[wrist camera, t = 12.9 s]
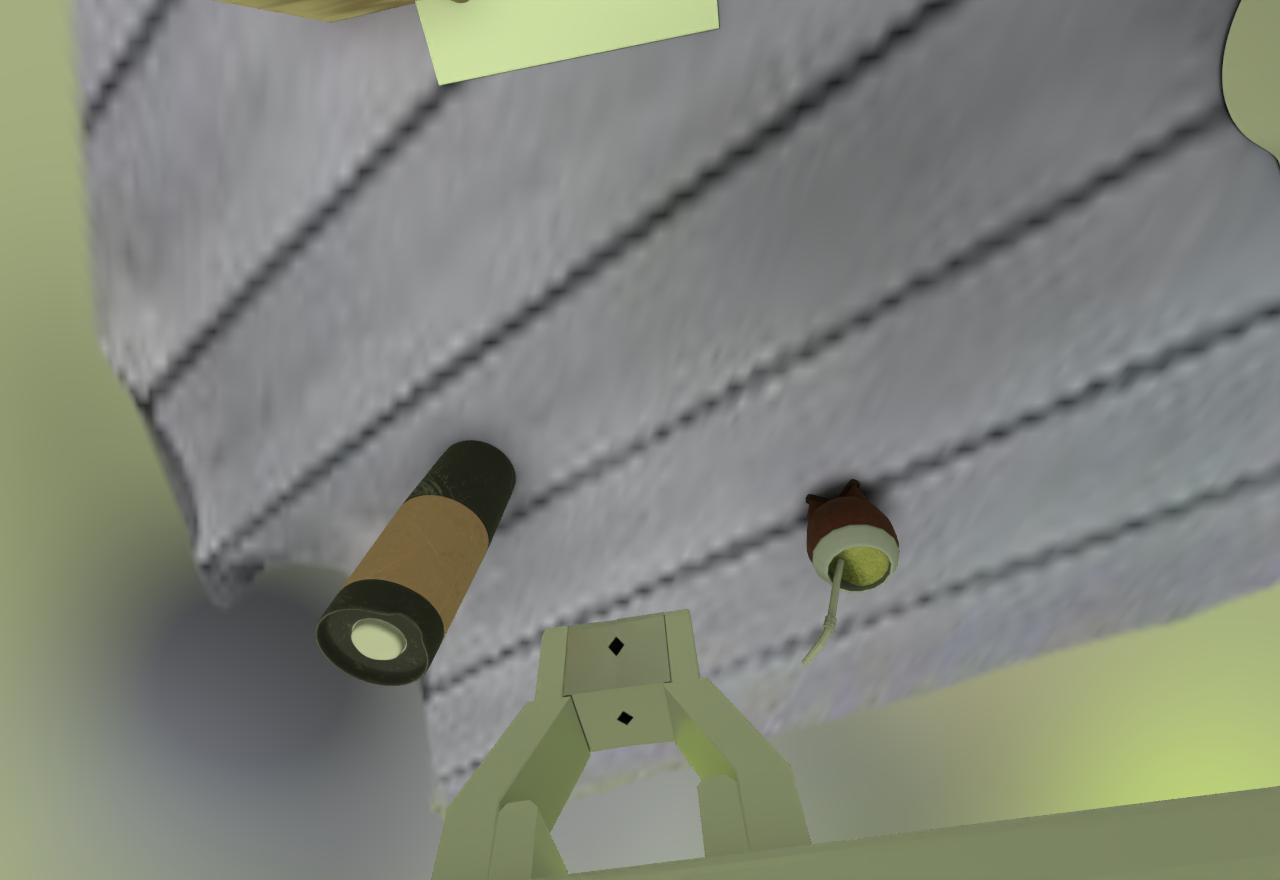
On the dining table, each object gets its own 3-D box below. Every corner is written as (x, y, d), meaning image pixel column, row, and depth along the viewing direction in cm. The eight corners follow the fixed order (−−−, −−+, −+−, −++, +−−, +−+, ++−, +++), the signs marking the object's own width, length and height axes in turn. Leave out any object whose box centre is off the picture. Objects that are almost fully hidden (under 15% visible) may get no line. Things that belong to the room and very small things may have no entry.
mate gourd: (895, 487, 50) (959, 623, 37) (852, 551, 54) (897, 694, 41) (814, 463, 49) (852, 592, 37) (777, 529, 54) (799, 666, 41)
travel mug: (442, 499, 56) (325, 679, 39) (434, 432, 52) (300, 599, 35) (519, 510, 55) (436, 695, 38) (518, 443, 51) (424, 616, 34)
